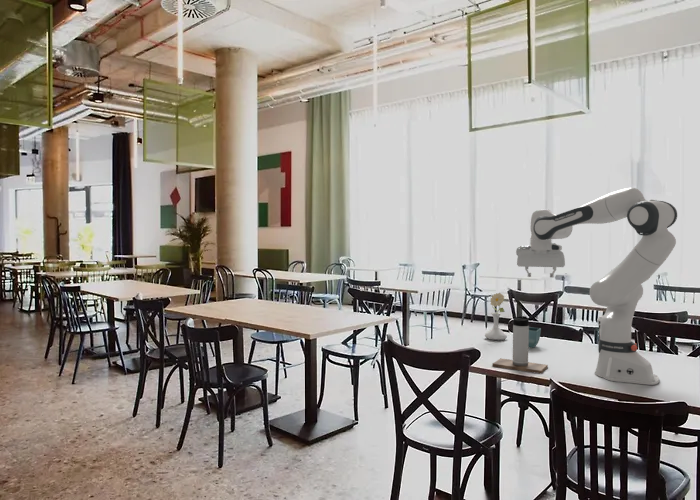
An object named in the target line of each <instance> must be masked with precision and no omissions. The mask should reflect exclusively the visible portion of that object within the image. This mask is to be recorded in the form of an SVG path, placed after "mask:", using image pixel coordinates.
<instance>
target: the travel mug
mask: <svg viewBox="0 0 700 500" xmlns="http://www.w3.org/2000/svg"><path fill="white" fill-rule="evenodd" d="M529 320H530V318H529V317H527V315H526V316H525V315H521V316H515V317H514V318H513V320H512V322H513V325H512V360H513V364H514V365H517V366H527V365H528V362H529V347H528V342H529V327H530V324H529V323H530V322H529Z"/></svg>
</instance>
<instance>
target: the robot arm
mask: <svg viewBox="0 0 700 500" xmlns="http://www.w3.org/2000/svg"><path fill="white" fill-rule="evenodd" d="M626 218H627V221H628V223H629V225H630V226H631V228H632V229H634V230H635V231H636V233H637V235H639V236H641V239H640V240H639V241H638V243H636V244H635V246H634V247H633V249H632V250H631V251H630V252H629V253H628V254H627V255H626V256H625V258H624V259H623V260H622V261H621V262H620V263H619V264H617V265H616V266H615V267H614V268H613V269H611V270H610V271H609V272H608V273H607V274H605V275H604V276H603V277H601V278H600V279H599V280H597V281H595V282H594V283H593V284H592V285H591V286H590V288H589V297H590V299H591V301H592V302H593V303H594V304H595V305H597V306H601V307H604V308H605V307H606V310H605V312H604V314H603V315H604V316H603V317H602V318H601V321H600V339H599V338H598V342H597V343H598V346H597V350H598V358H597V359H598V360H597V364H596V368H595V370H594V374H595V375H596V376H598V377H601V378H604V379H606V380H608V381H611V382H619V383H628V384H641V385H650V386H655V385H658V384H659V383H660V377H659V376H658V375H656V374H654V371H653V370H654V369H653V367H652V364H651V362H650V361H649V360H647V358H645V357H644V356H643V355H641V354H640V353H639V352H637V351H638V345H637V343H636V342H633V341H632V324H633V318H634V315H635V311H636V308H637V306H638V303H639V301H640V300H641V298H642V297H643V295H644V287H643V285H642V284H643V283H645V282H647V281H648V280H649V279H650V278H652V276H653V275H654V274H655V273H656V271H657V270H659V268H660V267H661V266H662V265H663V264H664V263H665V262H666V260H667V259H668V257H669V256H670V255H671V253H672V251H674V248H675V247H676V244H677V240H676V237H675V236H674V234H673V233H672V232H670V231H669V230H668V228H670V227H672V226H673V225H674V224H675V222H676V221H677V218H678V211H677V209H676V207H675V206H674V205H673V204H671V203H669V202H667V201H664V200H657V199H650V200H647V199H646V198H645V197H644V194H643V193H642V192H641V191H640V189H637V188H636V187H627V188H623V189H619V190H616V191H613V192H609V193H607V194H604V195H602V196H600V197H599V198H596V199H593V200H592V201H590V202H588V203H584V204H583V205H581V206H579V207H575V208H572V209H570V210H567V211H565V212H561V213H559V214H555V213H553V212H552V211H551V210H550V209H544V208H543V209H538V210H535V211H533V213H532V215H531V217H530V234H531V235H530V239H529V243H530V245H525V246H523V245H521V246H518V247H517V248H516V250H515V251H516V252H515V253H516V256H517V260H516V265H517V267H518V268H519V267H520V268H521V267H523V268H524V270H525V272H526V273H527V277H528V278H532V273H531V272H530V271H529V268H537V267H538V268H552V272H550V273H549V278H554V274H555V272H556V271H557V268H564V267H565V266H566V259H565V255H564V252H563V251H562V250H563V247H562V245H560V244H557V243H555V242H554V243H553V242H552V240H563V239H566V238H568V237H570V235H571V234H572V232H573V227H574V226H576V225H585V224H592V225H593V224H595V225H596V224H597V225H598V224H600V225H602V224H609V223H613V222H614V223H615V222H617V221H619V220H620V221H621V220H623V219H626Z"/></svg>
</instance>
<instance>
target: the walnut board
mask: <svg viewBox="0 0 700 500" xmlns="http://www.w3.org/2000/svg"><path fill="white" fill-rule="evenodd" d="M491 365H492V367H494V368H501V369H508V370H514V371H521V372H528V373H533V372H535V373H534V374H540V373H541V374H543V373H544V372H545V371H546V370H547V369H548V367H549V364H546V363H545V364H544V363H537V362H530V361H528V365H527V366H517V365H514V364H513V359H507V358H502V357H501V358H499V359H497V360H496V361H495V362H493V363H492V364H491Z"/></svg>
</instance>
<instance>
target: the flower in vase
mask: <svg viewBox="0 0 700 500" xmlns="http://www.w3.org/2000/svg"><path fill="white" fill-rule="evenodd" d="M504 301H505V295H504V294H502V293H500V292H495V293H494V294H493V295H492V296H491V297H490V301H489V302H490V305H491V306H492V308H493V309H494V311H497V312H491V313H490V314H491V315H492V317H493V318H492V319H493V327H492V328H491V329H489V330H488V331H487V332H485V333H484V337H485V338H486V339H489V340H493V341H494V340H495V341H501V340H505V339H507V337H508V336H507V334H506V333H505V332H504V331H503V330H502V329H501V328H500V327H499V318H500V316H501V314H502V313H504V312H505V309H504V307H501V305H502V304H503V302H504ZM495 307H496V308H495ZM497 307H498V309H497Z"/></svg>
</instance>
